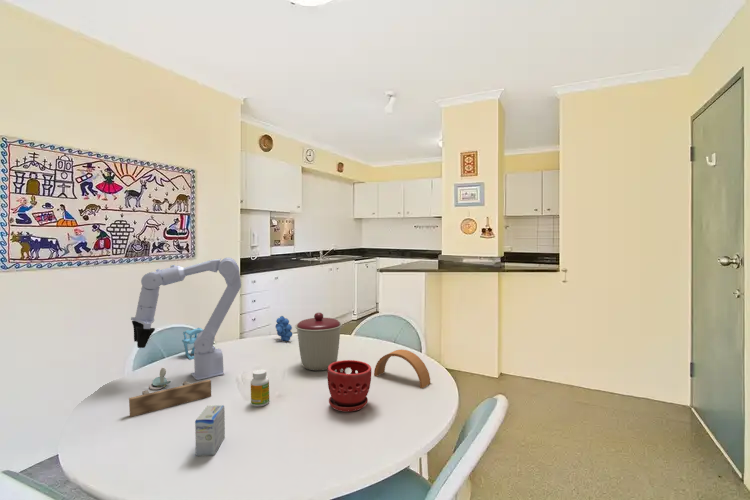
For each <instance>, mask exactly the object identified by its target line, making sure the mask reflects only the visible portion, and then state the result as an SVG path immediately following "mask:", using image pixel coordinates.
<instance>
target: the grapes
mask: <svg viewBox="0 0 750 500" xmlns="http://www.w3.org/2000/svg"><path fill="white" fill-rule="evenodd" d="M275 322H276V324H275V329H276V333H277V334H276V335H277V336H278V337H280V340H281V341H283V342H284V341H286V342H290V340H291V338H292V337H293V332H292V329H293V327H292V325H291V324H290V320H289V319H288V318H287V317H286V318H285V317H284V315H281V316H279V317H277V318H276V320H275Z"/></svg>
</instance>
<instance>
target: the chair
mask: <svg viewBox="0 0 750 500" xmlns="http://www.w3.org/2000/svg"><path fill="white" fill-rule="evenodd" d="M203 330H204V328H203V329H202V328H201V327H197V328H194V329H191V330H190V329H186V330H185V331H183V332H182V334H183V337H184V338H183V339H182V340H181V342H182V343H183V347H184V354H185V356H186V357H187V359H189V360H194V350H195V348H194V346H193V347H192V349H191V351H190V353H189V349H188V345H192V344H193V345H194V342H195V340H196V338H197V335H198V334H199V333H200V332H201V331H203ZM186 334H187V335H188V336H189V338H187V335H186ZM193 335H194V336H193ZM192 336H193V337H192ZM190 354H192V356H191V355H190Z"/></svg>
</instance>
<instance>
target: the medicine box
mask: <svg viewBox="0 0 750 500" xmlns="http://www.w3.org/2000/svg"><path fill="white" fill-rule="evenodd" d="M225 414H226V413H225V405H224V404H223V405H222V404H221V405H219V404H218V405H216V404H215V405H206V407H205V408H204V409H203V411H202V412H201V413H200V414H199V416H198V417H197V418H196V419H195V422H194V423H195V424H194V425H195V426H194V429H195V432H194V433H195V434H194V436H195V456H196V457H205V456H206V457H207V456H215V455H216V453H217V451H218V450H219V448H220V447H221V444H222V443H223V441H224V439H225V436H226V435H225V433H226V427H225V424H226V422H225V420H226V419H225Z"/></svg>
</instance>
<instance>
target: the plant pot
mask: <svg viewBox="0 0 750 500" xmlns="http://www.w3.org/2000/svg"><path fill="white" fill-rule="evenodd" d="M346 369H350V370H351V372H350V373H346ZM341 370H342V371H341ZM356 371H357V372H356ZM326 378H327V387H328V391H329V394H330V397H329V398H328V403H329V406H330V407H331V408H333V409H335V410H336V411H339V412H343V413H344V412H345V413H346V412H348V413H349V412H350V413H351V412H357V411H359V410H362V409H364V408H365V406H367V404H368V401H369V399H368V397H367V396H368V394H369V392H370V387H371V381H372V366H371V365H370V363H369V364H368V363H367V362H365V361H360V360H354V359H353V360H352V359H347V360H345V359H343V360H337V362H334V363H331V364H330V365H329V366H328V369H327V377H326Z"/></svg>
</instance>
